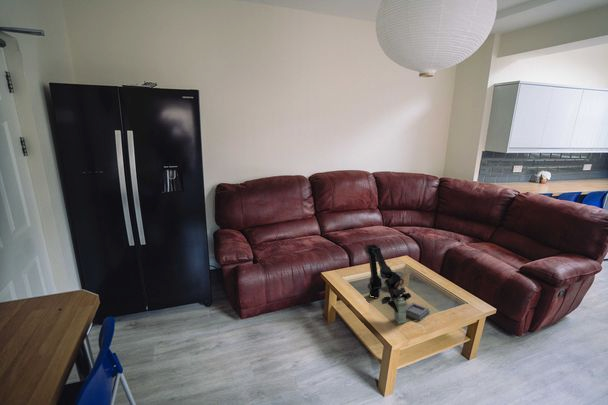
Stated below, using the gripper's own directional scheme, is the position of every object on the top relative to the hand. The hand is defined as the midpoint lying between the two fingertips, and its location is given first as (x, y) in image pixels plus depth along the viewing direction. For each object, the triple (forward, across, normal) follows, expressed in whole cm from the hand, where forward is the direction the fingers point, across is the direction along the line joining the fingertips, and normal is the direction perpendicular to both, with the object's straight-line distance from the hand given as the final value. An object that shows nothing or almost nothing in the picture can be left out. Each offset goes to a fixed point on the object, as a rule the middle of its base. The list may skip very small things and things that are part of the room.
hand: (401, 311), depth 181 cm
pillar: (+4, 0, +6) cm, 7 cm away
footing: (+1, +15, +9) cm, 17 cm away
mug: (-25, +24, +36) cm, 50 cm away
